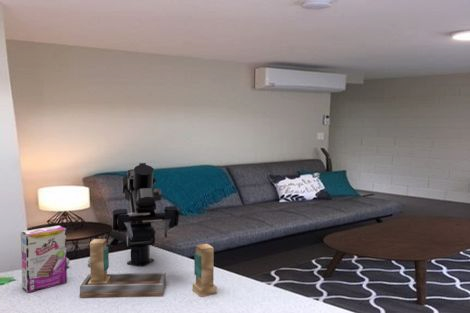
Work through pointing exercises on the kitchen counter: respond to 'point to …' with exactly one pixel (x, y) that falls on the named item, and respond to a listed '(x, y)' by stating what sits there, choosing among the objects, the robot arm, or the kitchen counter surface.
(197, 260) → the oak finger
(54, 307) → the kitchen counter surface
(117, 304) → the kitchen counter surface
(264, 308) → the kitchen counter surface
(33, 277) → the candy bar box
